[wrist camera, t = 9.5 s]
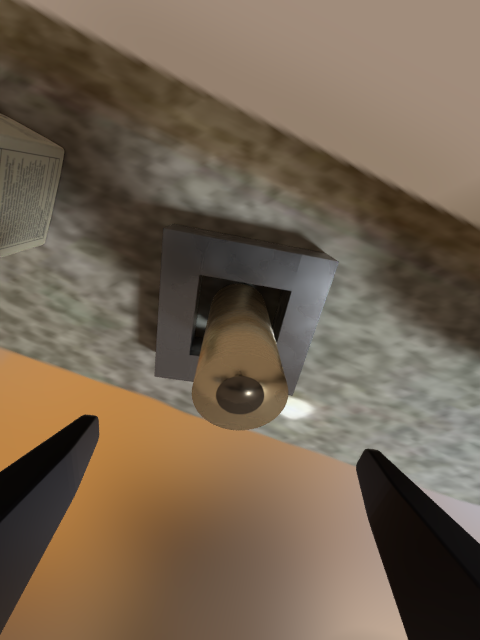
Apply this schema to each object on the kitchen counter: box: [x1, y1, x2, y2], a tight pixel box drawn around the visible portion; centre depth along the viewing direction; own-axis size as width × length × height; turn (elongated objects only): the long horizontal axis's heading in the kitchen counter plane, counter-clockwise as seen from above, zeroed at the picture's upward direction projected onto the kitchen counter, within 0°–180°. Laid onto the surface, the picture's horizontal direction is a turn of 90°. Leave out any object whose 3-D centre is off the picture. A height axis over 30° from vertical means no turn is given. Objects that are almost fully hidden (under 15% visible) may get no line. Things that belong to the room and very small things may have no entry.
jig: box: [155, 224, 339, 396], centre depth 18 cm, size 10×10×2 cm
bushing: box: [192, 283, 288, 430], centre depth 15 cm, size 4×4×9 cm
